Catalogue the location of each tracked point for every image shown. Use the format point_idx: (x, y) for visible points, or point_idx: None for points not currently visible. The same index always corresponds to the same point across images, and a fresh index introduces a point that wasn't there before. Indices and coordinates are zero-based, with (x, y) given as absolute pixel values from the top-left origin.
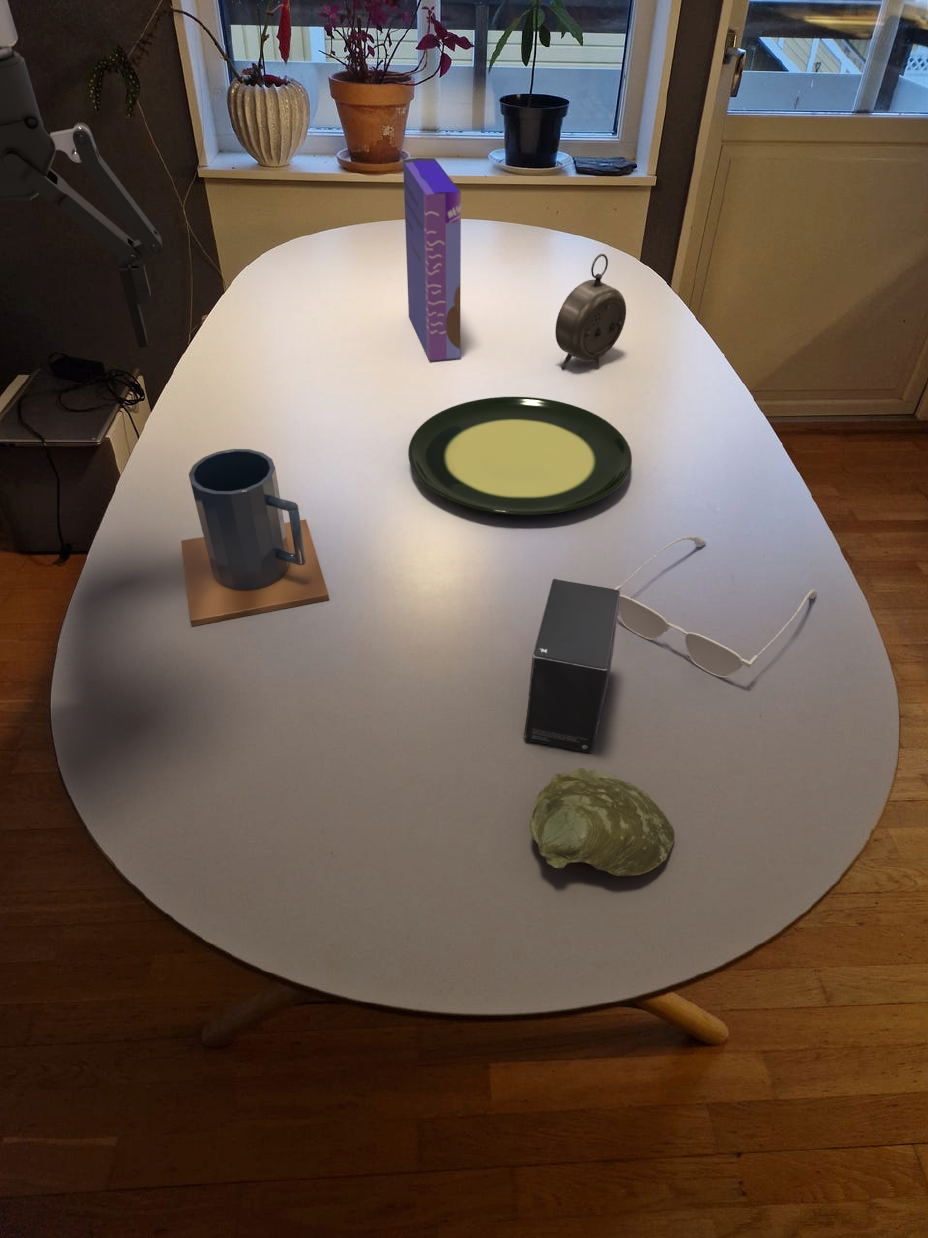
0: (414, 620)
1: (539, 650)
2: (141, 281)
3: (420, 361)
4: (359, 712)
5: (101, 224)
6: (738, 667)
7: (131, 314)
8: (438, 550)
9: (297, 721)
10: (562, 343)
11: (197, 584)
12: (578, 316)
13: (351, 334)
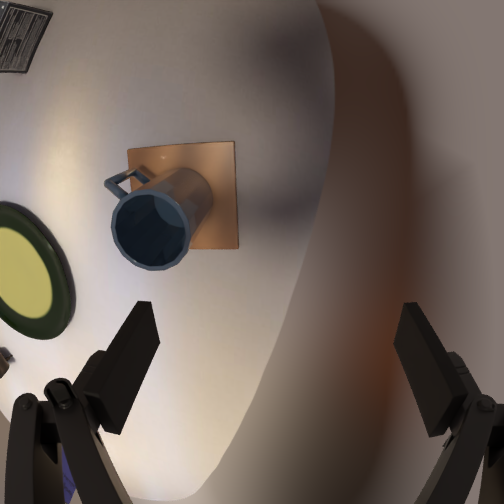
0: (79, 117)
1: (4, 6)
2: (86, 376)
3: None
4: (127, 33)
5: (72, 472)
6: None
7: (129, 335)
8: (58, 191)
9: (166, 29)
10: (4, 365)
11: (226, 186)
12: None
13: (129, 434)
